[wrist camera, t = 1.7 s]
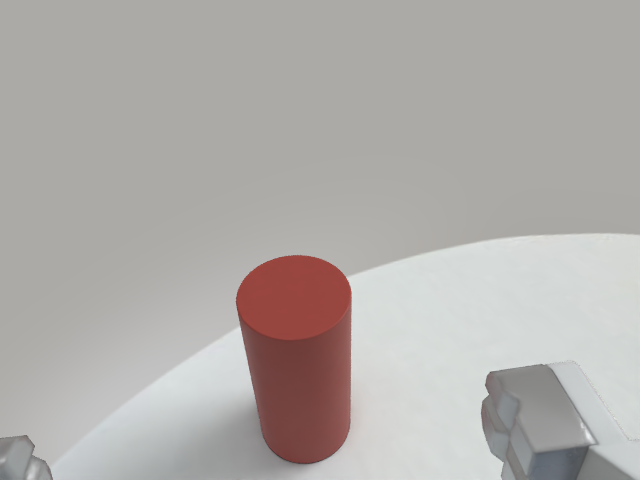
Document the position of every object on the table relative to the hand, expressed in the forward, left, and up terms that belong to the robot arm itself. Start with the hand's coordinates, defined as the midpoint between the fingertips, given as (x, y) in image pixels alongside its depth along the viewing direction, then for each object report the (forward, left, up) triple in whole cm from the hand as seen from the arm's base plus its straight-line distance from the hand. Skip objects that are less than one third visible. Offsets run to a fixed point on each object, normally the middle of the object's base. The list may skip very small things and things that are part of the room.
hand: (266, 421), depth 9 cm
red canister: (+1, +10, -17) cm, 20 cm away
